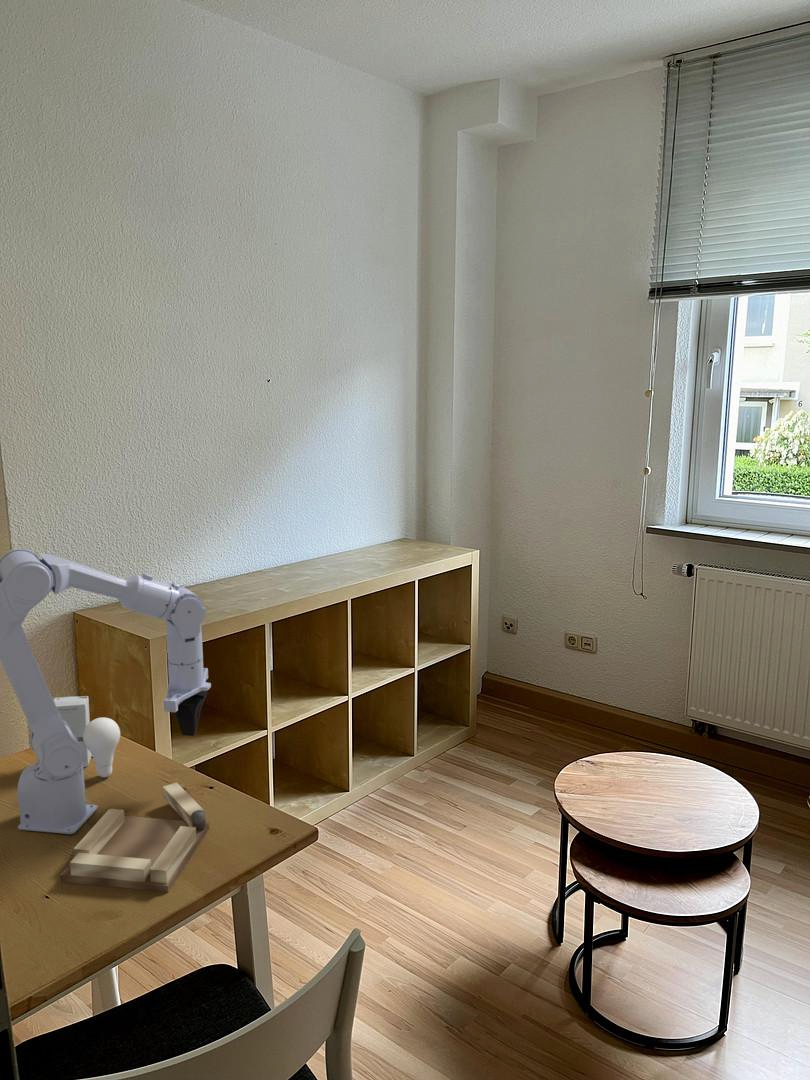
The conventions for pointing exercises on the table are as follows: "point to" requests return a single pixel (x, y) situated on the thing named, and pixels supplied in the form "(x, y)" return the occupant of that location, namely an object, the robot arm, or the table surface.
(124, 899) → the table surface
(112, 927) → the table surface
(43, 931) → the table surface
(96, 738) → the lightbulb
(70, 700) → the skincare box
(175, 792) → the hinged leg
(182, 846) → the stool seat
